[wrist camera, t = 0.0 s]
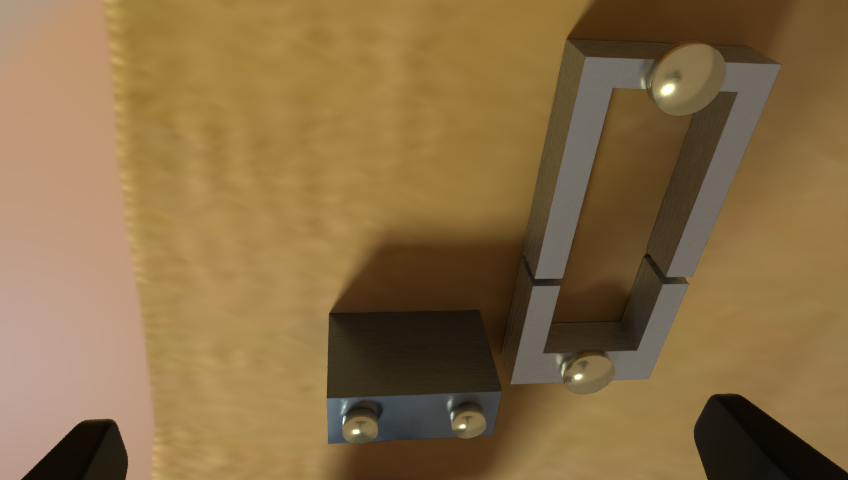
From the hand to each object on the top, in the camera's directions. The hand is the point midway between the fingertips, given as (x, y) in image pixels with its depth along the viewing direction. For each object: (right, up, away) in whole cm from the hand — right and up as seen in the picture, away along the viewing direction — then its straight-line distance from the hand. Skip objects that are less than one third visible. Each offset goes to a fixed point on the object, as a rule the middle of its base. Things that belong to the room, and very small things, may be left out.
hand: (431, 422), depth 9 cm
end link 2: (+7, 0, +19) cm, 21 cm away
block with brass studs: (-1, -2, +19) cm, 19 cm away
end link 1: (+8, +6, +15) cm, 18 cm away
